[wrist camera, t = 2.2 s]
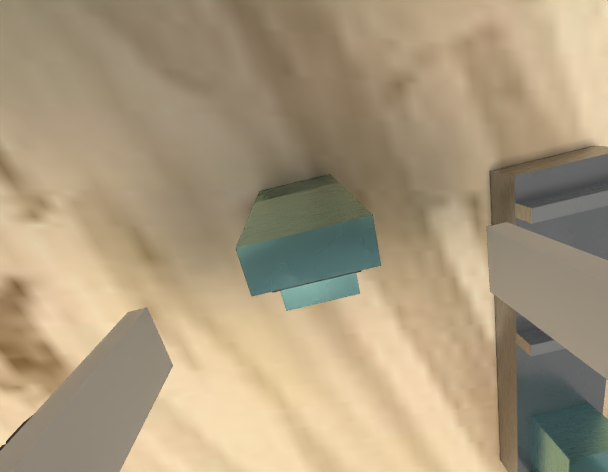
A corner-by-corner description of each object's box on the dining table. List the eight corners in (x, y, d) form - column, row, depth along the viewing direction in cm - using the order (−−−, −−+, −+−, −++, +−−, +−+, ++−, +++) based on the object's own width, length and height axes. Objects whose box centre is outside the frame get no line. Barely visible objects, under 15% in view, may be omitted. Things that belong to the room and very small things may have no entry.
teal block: (259, 191, 17) (235, 248, 9) (329, 174, 17) (372, 215, 9) (286, 284, 19) (287, 404, 11) (348, 269, 19) (400, 378, 11)
